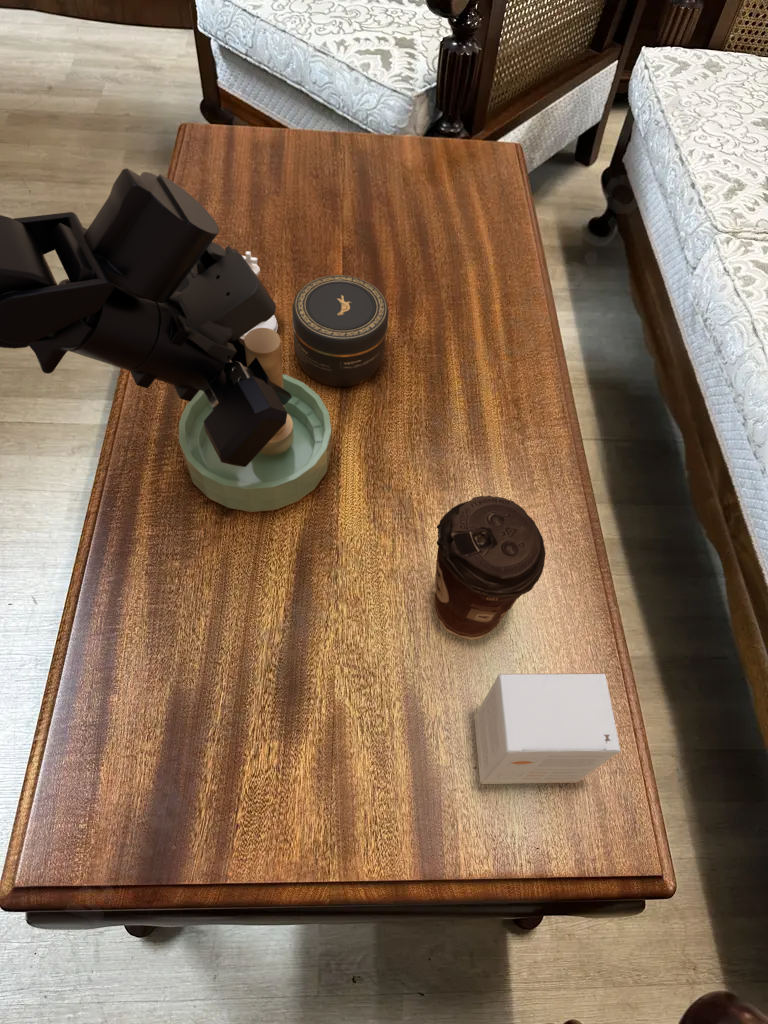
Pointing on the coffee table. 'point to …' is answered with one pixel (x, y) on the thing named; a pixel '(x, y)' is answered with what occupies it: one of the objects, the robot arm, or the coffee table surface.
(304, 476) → the bowl
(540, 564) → the coffee cup
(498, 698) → the small box
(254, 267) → the chess piece
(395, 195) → the coffee table surface
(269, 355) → the muddler
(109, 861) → the coffee table surface
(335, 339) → the jar
